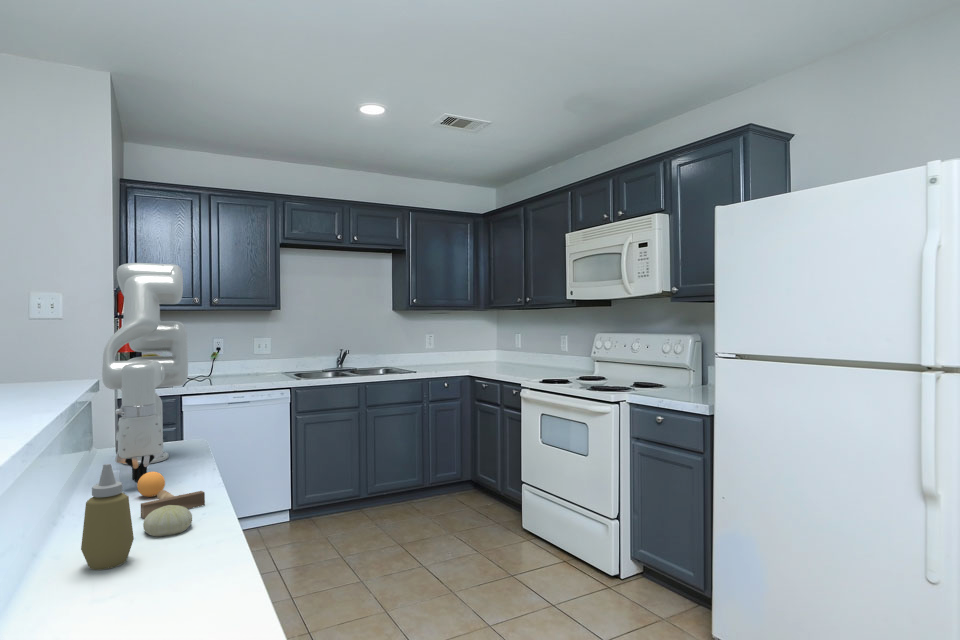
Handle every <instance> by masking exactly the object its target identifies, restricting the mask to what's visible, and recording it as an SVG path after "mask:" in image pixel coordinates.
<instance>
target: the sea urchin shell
mask: <svg viewBox="0 0 960 640" xmlns="http://www.w3.org/2000/svg"><path fill="white" fill-rule="evenodd" d="M192 523H193V513H192V512H191V511H190V509H187V508H185V507H183V506H178V505H167V506H163V507H160V508H158V509H156V510H154V511H152V512H151V513H149V514H148V515H147V516H146V518H145V519H143V523H142V526H143V530H144V532H146V533H147V535H149V536H152V537H156V538H159V537H164V536H173V535H177V534H181V533H183V532H184V531H186V530H187V529H188V528H189V527H190V526H191V524H192Z"/></svg>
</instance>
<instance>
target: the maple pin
mask: <svg viewBox="0 0 960 640" xmlns="http://www.w3.org/2000/svg"><path fill="white" fill-rule="evenodd" d="M174 496H175V495H173V494H172V493H171V492H169V491H167V490H166V489H165V490H164V489H163V490H161V491H159V492H158V494H157V495H156V498H157V500H160V499H164V498H169V497H174Z"/></svg>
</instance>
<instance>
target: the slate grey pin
mask: <svg viewBox="0 0 960 640" xmlns="http://www.w3.org/2000/svg"><path fill="white" fill-rule="evenodd" d="M112 470H113V474H114V477H115V481H118V482H121V481H120V480H121V477H120V476H121V475H120V470H119V469H112Z"/></svg>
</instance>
